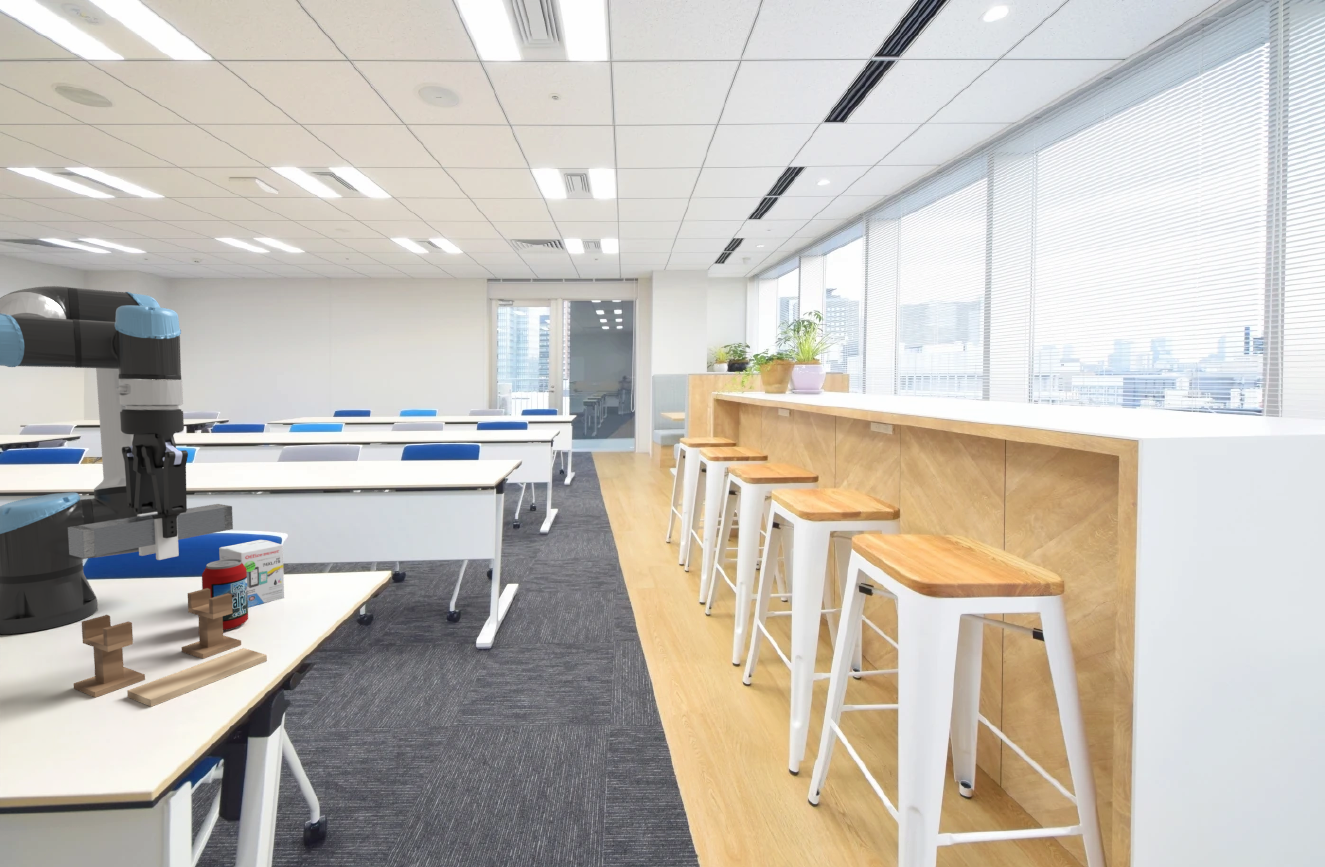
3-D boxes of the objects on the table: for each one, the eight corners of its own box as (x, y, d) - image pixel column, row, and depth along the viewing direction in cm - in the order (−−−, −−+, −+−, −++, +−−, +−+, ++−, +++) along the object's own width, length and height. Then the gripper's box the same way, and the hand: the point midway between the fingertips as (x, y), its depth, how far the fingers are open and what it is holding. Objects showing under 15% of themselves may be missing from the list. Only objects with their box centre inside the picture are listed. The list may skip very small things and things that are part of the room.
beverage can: (225, 634, 109) (222, 569, 108) (194, 631, 110) (191, 566, 110) (257, 621, 116) (255, 559, 115) (227, 618, 117) (225, 556, 116)
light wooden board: (127, 697, 87) (127, 690, 87) (243, 653, 101) (243, 647, 101) (151, 706, 84) (150, 699, 84) (266, 660, 99) (266, 654, 99)
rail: (69, 554, 88) (67, 527, 87) (218, 526, 106) (217, 503, 105) (83, 558, 86) (82, 530, 86) (232, 529, 104) (232, 506, 104)
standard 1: (71, 687, 89) (68, 625, 89) (121, 671, 95) (118, 611, 94) (97, 698, 87) (93, 633, 86) (146, 680, 92) (143, 619, 91)
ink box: (241, 610, 121) (239, 552, 121) (219, 602, 126) (217, 546, 125) (285, 597, 129) (283, 543, 128) (263, 590, 133) (261, 538, 132)
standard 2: (179, 651, 102) (177, 596, 101) (218, 638, 108) (216, 585, 107) (204, 659, 99) (202, 602, 99) (243, 645, 105) (241, 591, 104)
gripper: (92, 406, 94) (100, 554, 96) (155, 410, 87) (162, 569, 89) (149, 405, 101) (155, 543, 103) (211, 409, 94) (217, 557, 96)
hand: (158, 555), depth 96 cm, fingers closed on rail, 4 cm apart
